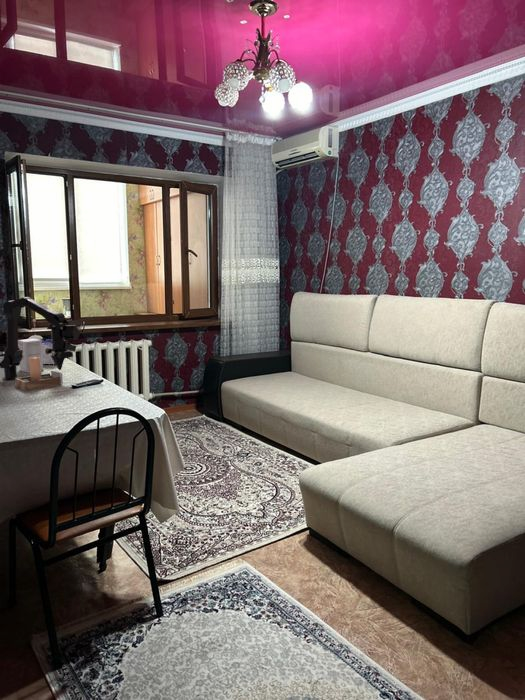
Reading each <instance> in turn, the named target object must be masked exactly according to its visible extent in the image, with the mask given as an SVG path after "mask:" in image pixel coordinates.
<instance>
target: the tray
mask: <svg viewBox="0 0 525 700" xmlns="http://www.w3.org/2000/svg"><path fill="white" fill-rule="evenodd" d="M55 377H60V380H61V384H64V382H63V373H62V372H60V371H57V370H54V369H53V370H52V369H51V370H50V376H44V377H41V378H42V379H48V378H55ZM23 381H26V382H28V381H31V378H30V379H23Z"/></svg>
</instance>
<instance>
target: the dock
mask: <svg viewBox="0 0 525 700" xmlns="http://www.w3.org/2000/svg"><path fill="white" fill-rule="evenodd" d="M50 375H51V372H50V373H49V372H48V373H41V377H44V376H50ZM30 378H31V377H30V375H28V376H21V377H20V378H15V379H14V383H15V385H14V386H15V388H18V389H21V390H22V389H23V390H22V391H24V392H27V390H28V391H33V389H35V390H40V389H39V388H41V389H46V387H47V388H51V386H53V387H59V386H61V380H60V377H55V378H48V379H42V380H35V381H28V382H26V381H23V379H30ZM58 385H59V386H58Z"/></svg>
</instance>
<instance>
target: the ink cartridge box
mask: <svg viewBox="0 0 525 700" xmlns="http://www.w3.org/2000/svg"><path fill="white" fill-rule="evenodd" d="M51 340H52V338H50V339H49V338H48V339H47V338H46V340H45V341H44V342H45V343H44V342H43V343H42V342H41V345H42V358H43V364H53V365H52V366H55V365H54V364H55V362H54V361H53V359H52V357H51V356H52V353H49V354H45V350H46V349H47V348H51V347H52V343H51V342H50V341H51Z"/></svg>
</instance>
